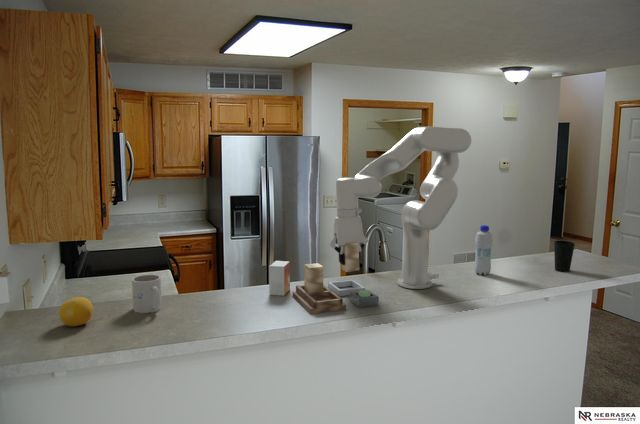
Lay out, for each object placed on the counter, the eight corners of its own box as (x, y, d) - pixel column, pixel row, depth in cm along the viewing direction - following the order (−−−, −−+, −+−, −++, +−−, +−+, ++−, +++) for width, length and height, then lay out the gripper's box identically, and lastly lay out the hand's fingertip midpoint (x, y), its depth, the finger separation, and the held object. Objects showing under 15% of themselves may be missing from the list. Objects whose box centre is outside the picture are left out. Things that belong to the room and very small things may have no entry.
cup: (576, 273, 203) (578, 244, 201) (557, 272, 203) (559, 244, 201) (567, 268, 210) (569, 240, 208) (548, 268, 210) (551, 240, 208)
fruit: (59, 332, 139) (57, 304, 137) (61, 322, 146) (59, 296, 145) (93, 327, 142) (92, 300, 141) (94, 318, 149) (92, 292, 148)
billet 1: (318, 291, 172) (318, 263, 170) (323, 295, 167) (323, 266, 166) (304, 292, 170) (304, 264, 169) (309, 297, 165) (309, 267, 164)
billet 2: (353, 266, 180) (352, 240, 179) (359, 270, 176) (358, 242, 174) (341, 268, 179) (339, 241, 177) (346, 272, 174) (345, 244, 172)
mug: (130, 307, 159) (129, 276, 158) (158, 302, 164) (156, 273, 162) (139, 318, 149) (137, 286, 148) (168, 313, 154) (167, 282, 152)
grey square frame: (352, 285, 184) (352, 279, 184) (364, 293, 175) (365, 287, 174) (328, 287, 181) (328, 282, 181) (339, 296, 171) (339, 290, 171)
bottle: (476, 270, 205) (479, 223, 202) (493, 273, 202) (495, 224, 199) (471, 274, 200) (473, 225, 197) (487, 276, 196) (490, 227, 193)
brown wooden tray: (324, 292, 176) (324, 282, 175) (346, 309, 158) (346, 298, 157) (292, 295, 171) (292, 286, 171) (310, 313, 154) (310, 303, 153)
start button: (367, 298, 166) (367, 289, 166) (372, 302, 163) (372, 293, 162) (356, 299, 165) (356, 290, 165) (361, 303, 161) (361, 294, 161)
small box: (284, 296, 171) (284, 266, 169) (268, 295, 172) (268, 265, 171) (290, 289, 179) (290, 261, 177) (275, 288, 180) (275, 260, 178)
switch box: (369, 298, 168) (369, 290, 168) (378, 305, 162) (378, 296, 161) (350, 301, 166) (350, 292, 166) (359, 307, 159) (359, 298, 159)
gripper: (365, 209, 180) (366, 257, 183) (321, 214, 174) (323, 263, 177) (374, 212, 173) (376, 262, 176) (329, 217, 167) (331, 269, 170)
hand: (349, 262), depth 177 cm, fingers closed on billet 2, 5 cm apart
